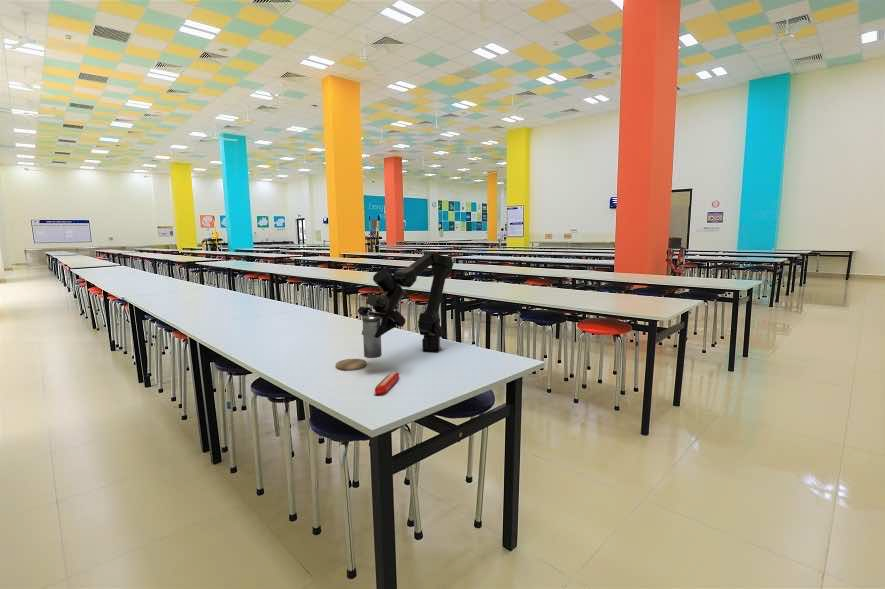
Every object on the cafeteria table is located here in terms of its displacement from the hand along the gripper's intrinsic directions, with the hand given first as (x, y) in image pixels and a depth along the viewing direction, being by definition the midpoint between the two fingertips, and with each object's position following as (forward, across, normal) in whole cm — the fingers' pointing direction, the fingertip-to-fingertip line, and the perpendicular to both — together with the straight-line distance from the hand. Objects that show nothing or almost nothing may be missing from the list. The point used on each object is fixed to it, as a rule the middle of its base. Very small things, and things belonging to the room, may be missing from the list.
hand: (369, 336), depth 146 cm
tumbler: (+4, 0, +6) cm, 7 cm away
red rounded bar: (+14, +14, +5) cm, 20 cm away
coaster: (+8, -11, +10) cm, 17 cm away
